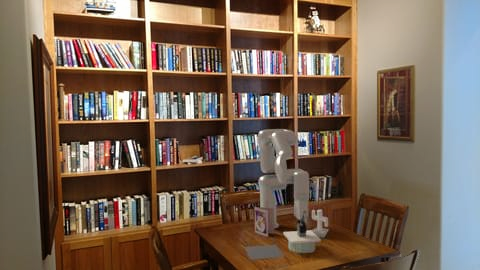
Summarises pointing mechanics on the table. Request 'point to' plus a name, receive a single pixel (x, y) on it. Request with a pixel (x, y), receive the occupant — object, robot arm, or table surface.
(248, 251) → the mat
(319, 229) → the figurine
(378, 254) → the table surface
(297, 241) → the lid
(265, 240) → the table surface
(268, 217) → the greeting card
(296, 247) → the bowl
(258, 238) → the table surface
